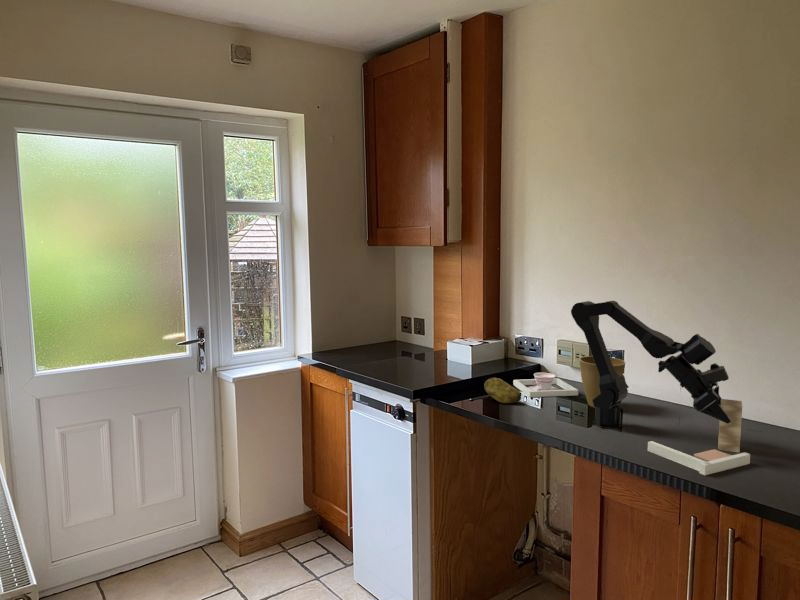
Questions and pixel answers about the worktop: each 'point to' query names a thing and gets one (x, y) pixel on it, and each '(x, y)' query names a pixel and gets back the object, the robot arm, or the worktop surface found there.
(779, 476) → the worktop surface
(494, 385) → the potato
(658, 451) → the corner arena
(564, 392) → the saucer tray
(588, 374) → the plant pot
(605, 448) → the worktop surface
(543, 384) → the teacup
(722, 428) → the birch block
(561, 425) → the worktop surface
